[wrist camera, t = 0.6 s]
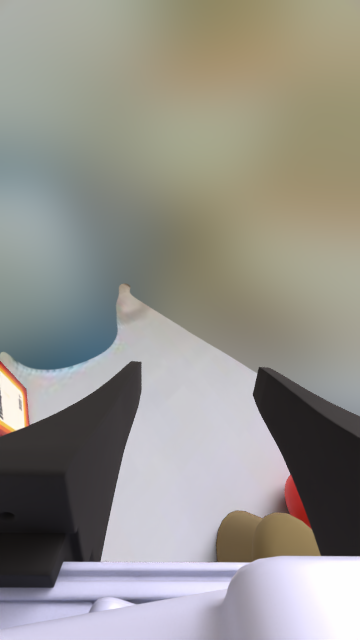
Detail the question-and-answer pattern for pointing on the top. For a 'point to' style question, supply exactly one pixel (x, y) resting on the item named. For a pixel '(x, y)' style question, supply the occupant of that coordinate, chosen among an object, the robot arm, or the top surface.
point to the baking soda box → (12, 403)
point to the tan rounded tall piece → (263, 537)
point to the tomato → (295, 502)
